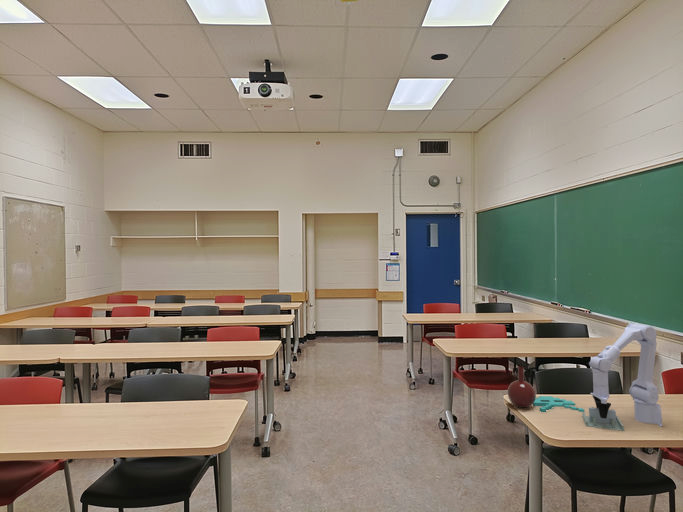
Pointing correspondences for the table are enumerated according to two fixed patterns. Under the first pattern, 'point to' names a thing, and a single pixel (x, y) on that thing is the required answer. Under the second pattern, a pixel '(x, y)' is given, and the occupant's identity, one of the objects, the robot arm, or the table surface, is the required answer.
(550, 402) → the teal pixel shape
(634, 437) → the table surface
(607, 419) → the long pale grey plank
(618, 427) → the rack
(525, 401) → the round-bottom flask
